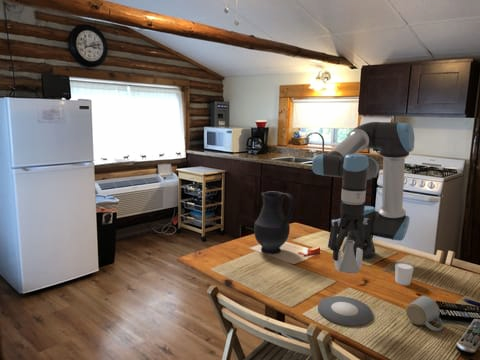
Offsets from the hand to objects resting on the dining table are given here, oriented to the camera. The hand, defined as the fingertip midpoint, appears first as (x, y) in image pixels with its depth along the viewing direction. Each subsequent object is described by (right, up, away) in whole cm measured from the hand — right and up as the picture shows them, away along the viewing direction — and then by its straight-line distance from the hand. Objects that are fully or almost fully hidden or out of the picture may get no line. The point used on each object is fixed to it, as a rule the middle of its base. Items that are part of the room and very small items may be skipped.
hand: (347, 268), depth 127 cm
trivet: (0, -16, +3) cm, 16 cm away
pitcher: (-20, -5, +57) cm, 60 cm away
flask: (0, -1, 0) cm, 1 cm away
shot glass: (+30, -12, +26) cm, 42 cm away
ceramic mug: (+25, -18, -3) cm, 30 cm away
